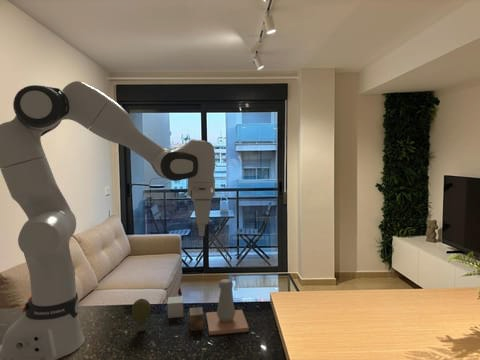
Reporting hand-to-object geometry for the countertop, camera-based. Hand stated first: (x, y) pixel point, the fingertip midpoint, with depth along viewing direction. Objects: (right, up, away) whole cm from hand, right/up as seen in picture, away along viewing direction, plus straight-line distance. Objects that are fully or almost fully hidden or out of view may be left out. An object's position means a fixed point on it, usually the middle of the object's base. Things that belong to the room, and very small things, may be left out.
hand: (200, 232), depth 118 cm
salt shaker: (+8, -28, -4) cm, 29 cm away
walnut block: (-1, -29, -5) cm, 29 cm away
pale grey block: (-9, -28, +3) cm, 30 cm away
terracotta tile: (+9, -29, -3) cm, 30 cm away
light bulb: (-17, -29, -8) cm, 35 cm away
